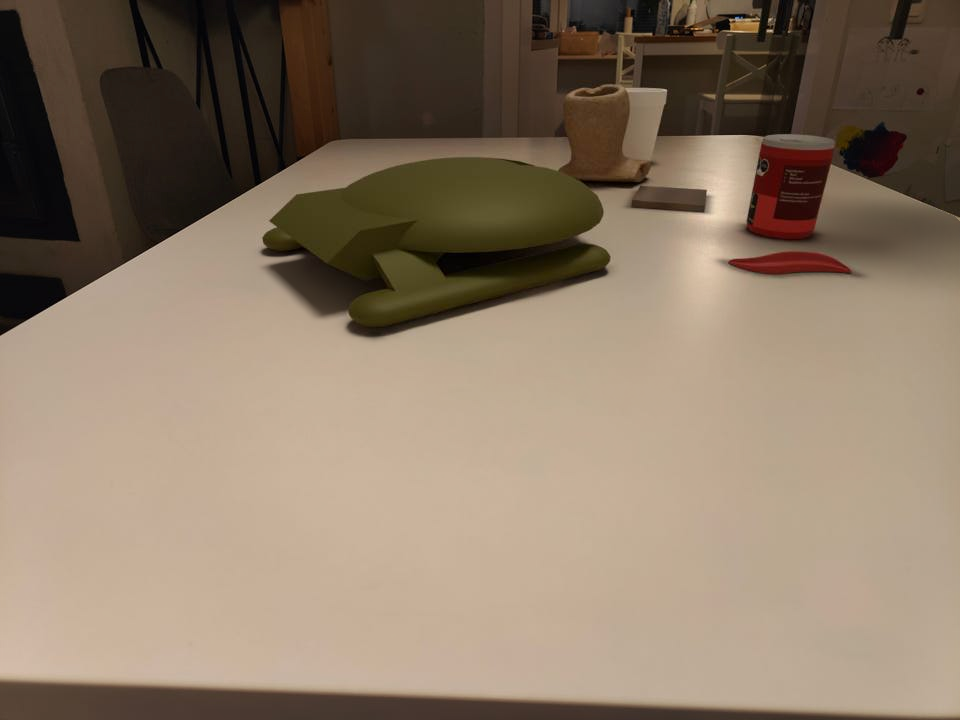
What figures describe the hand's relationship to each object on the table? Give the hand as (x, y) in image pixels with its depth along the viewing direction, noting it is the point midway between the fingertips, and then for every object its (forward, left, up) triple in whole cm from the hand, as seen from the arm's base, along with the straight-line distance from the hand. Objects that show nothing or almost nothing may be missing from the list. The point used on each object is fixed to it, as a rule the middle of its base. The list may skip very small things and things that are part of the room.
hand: (825, 41), depth 69 cm
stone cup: (+27, -21, -21) cm, 40 cm away
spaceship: (+37, +23, -21) cm, 49 cm away
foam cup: (+24, -40, -21) cm, 51 cm away
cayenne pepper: (+1, +17, -21) cm, 27 cm away
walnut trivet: (+15, -10, -21) cm, 28 cm away
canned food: (+1, +2, -21) cm, 21 cm away
